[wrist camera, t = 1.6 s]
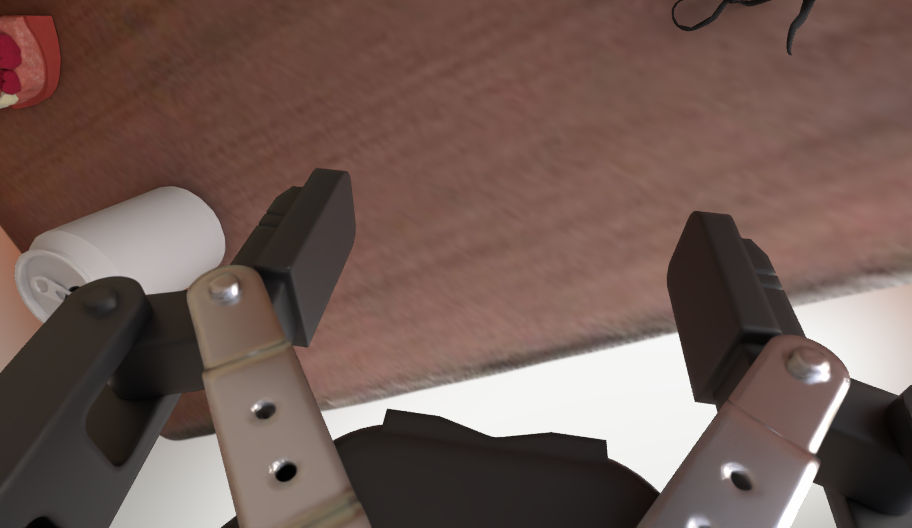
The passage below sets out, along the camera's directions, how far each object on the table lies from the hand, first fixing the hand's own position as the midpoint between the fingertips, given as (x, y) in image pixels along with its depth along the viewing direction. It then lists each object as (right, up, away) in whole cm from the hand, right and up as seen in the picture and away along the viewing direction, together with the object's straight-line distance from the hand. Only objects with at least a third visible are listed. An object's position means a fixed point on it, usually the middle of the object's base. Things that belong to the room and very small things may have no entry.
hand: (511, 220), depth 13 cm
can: (-23, +2, +30) cm, 37 cm away
